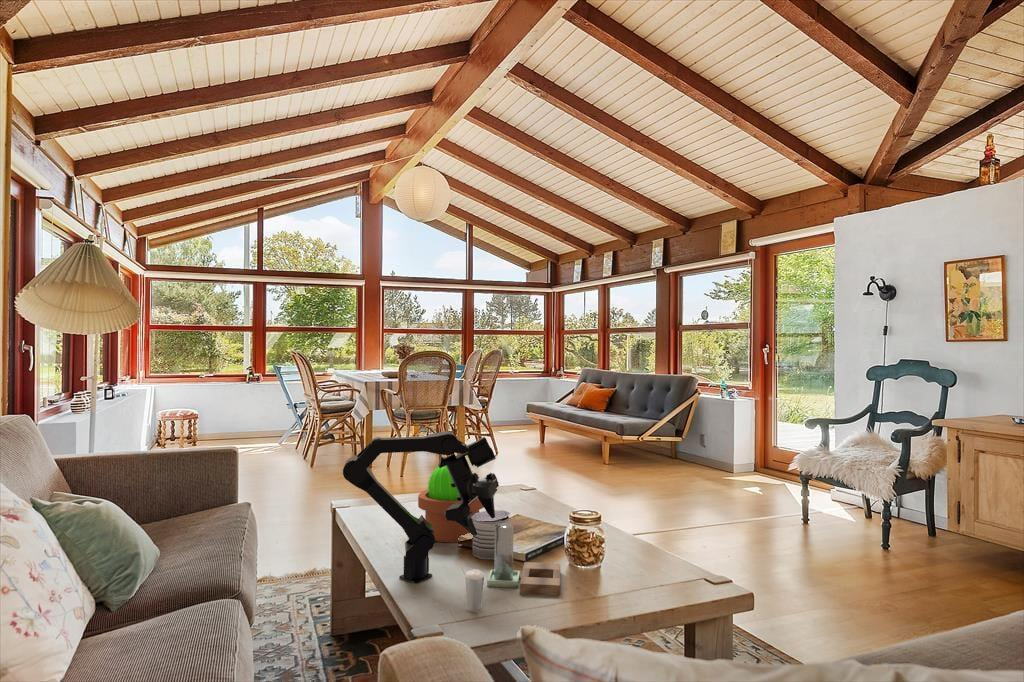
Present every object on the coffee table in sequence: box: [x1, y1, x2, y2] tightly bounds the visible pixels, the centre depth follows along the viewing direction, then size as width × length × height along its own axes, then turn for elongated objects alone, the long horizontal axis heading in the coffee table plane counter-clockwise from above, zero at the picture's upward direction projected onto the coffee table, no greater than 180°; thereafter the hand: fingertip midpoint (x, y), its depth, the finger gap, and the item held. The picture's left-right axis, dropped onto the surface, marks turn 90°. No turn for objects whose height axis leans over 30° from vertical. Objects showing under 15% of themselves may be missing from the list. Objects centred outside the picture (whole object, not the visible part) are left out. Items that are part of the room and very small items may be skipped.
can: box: [471, 509, 511, 561], centre depth 191 cm, size 11×11×12 cm
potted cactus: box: [417, 465, 485, 544], centre depth 209 cm, size 22×22×25 cm
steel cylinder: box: [493, 523, 514, 581], centre depth 168 cm, size 5×5×14 cm
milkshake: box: [461, 568, 485, 613], centre depth 150 cm, size 4×5×10 cm
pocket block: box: [519, 561, 561, 596], centre depth 167 cm, size 10×16×2 cm, turn 175°
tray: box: [486, 569, 521, 588], centre depth 168 cm, size 8×8×2 cm
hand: (484, 526), depth 173 cm, fingers open, 9 cm apart
